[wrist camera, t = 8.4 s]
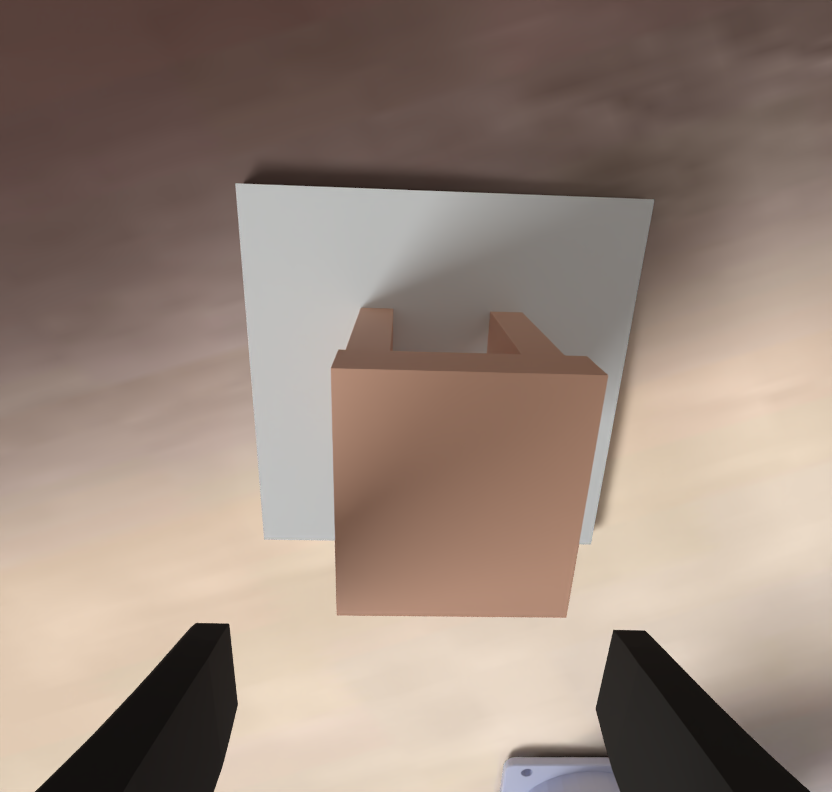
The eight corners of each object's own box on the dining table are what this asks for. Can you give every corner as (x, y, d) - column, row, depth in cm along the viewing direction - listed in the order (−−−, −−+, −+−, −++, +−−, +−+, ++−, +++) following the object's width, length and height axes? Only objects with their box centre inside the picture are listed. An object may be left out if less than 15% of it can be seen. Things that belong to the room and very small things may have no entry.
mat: (645, 199, 16) (654, 199, 15) (585, 534, 20) (590, 544, 20) (241, 183, 15) (235, 183, 15) (268, 529, 20) (264, 539, 19)
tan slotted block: (506, 461, 18) (565, 617, 12) (361, 458, 18) (336, 615, 11) (523, 299, 16) (608, 375, 10) (360, 294, 16) (330, 368, 9)
